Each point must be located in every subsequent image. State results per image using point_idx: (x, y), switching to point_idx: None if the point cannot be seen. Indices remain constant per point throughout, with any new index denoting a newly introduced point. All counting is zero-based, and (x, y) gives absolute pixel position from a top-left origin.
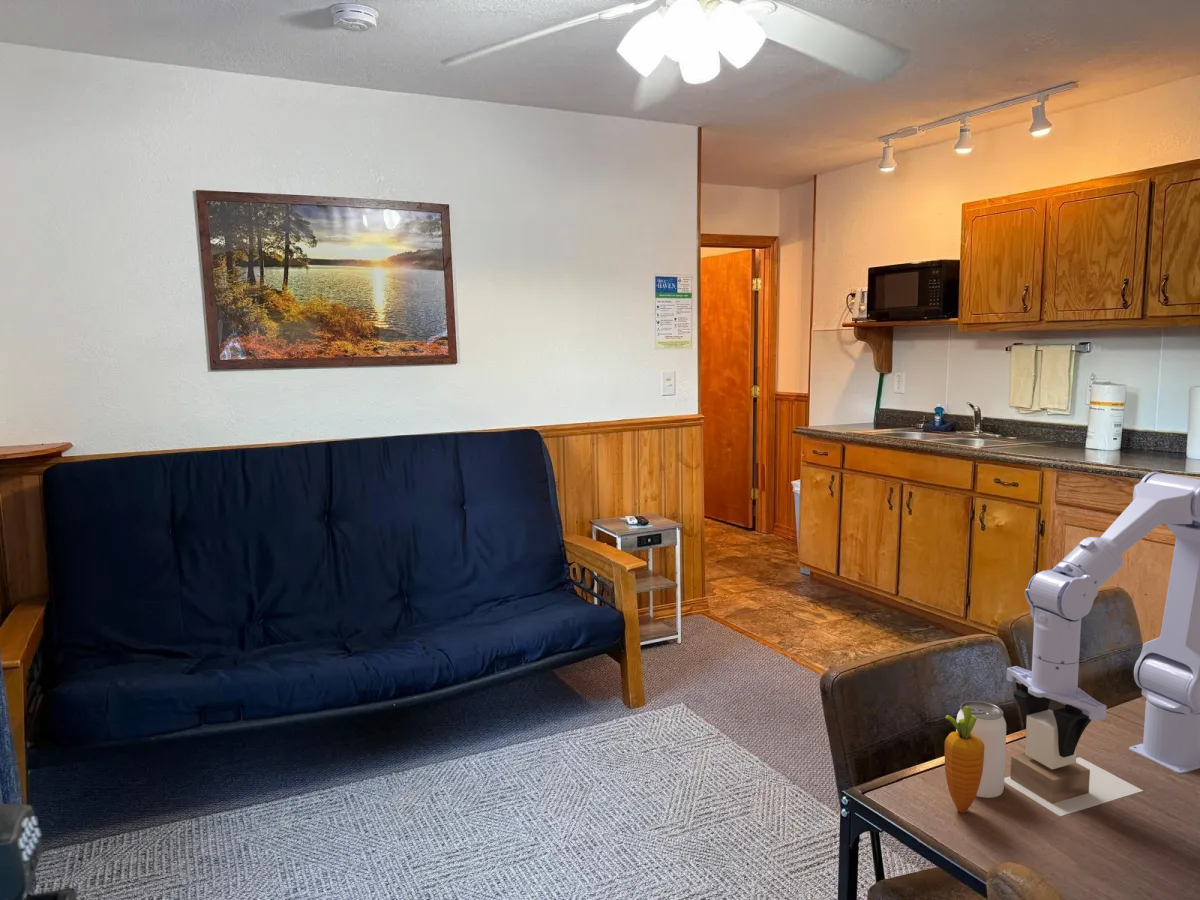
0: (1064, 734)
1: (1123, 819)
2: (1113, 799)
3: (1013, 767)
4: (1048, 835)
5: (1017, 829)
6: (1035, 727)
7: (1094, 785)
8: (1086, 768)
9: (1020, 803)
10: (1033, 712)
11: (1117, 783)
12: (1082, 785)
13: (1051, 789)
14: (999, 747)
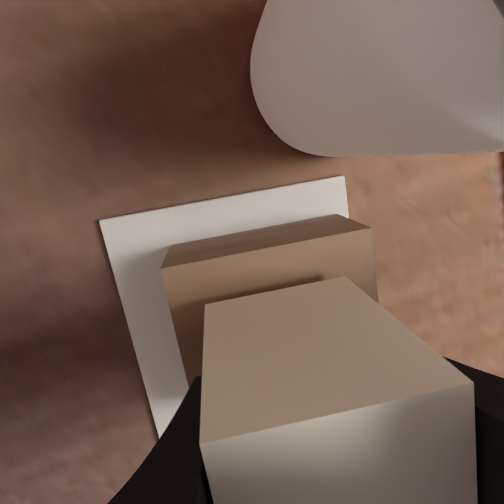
0: (137, 473)
1: (75, 399)
2: (159, 435)
3: (342, 222)
4: (15, 113)
5: (62, 25)
6: (357, 365)
7: None
8: None
9: (209, 154)
10: (486, 457)
11: None
12: None
13: (170, 256)
14: (293, 17)
